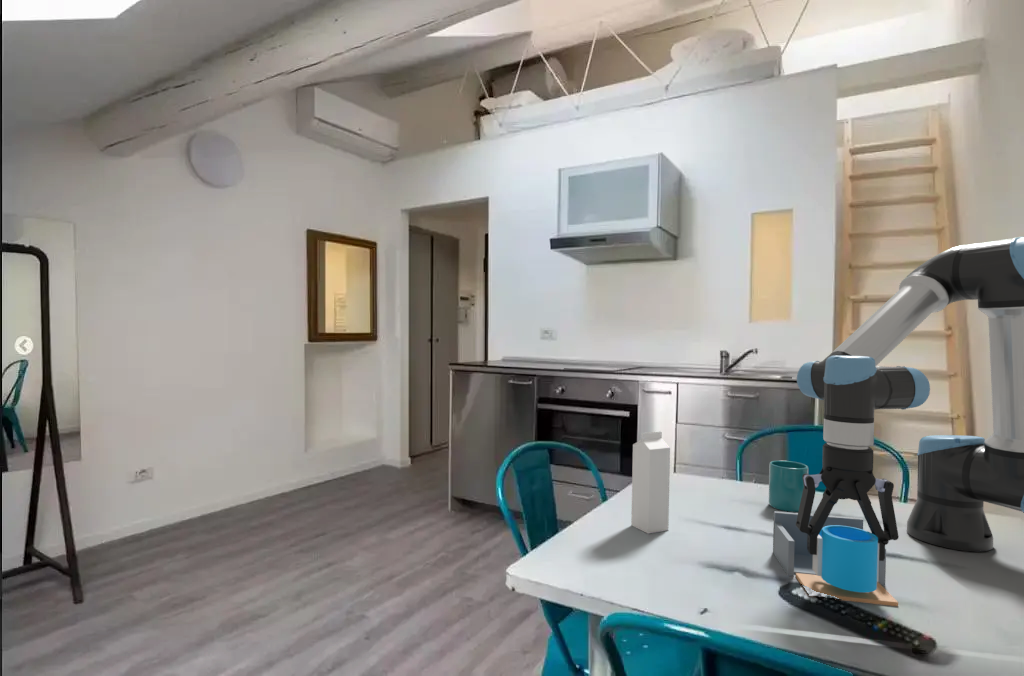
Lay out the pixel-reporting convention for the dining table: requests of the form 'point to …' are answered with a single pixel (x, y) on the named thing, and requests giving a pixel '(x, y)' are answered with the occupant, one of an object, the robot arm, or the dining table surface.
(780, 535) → the box
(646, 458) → the milk
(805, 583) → the panel
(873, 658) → the dining table surface
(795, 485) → the cup
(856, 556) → the mug
